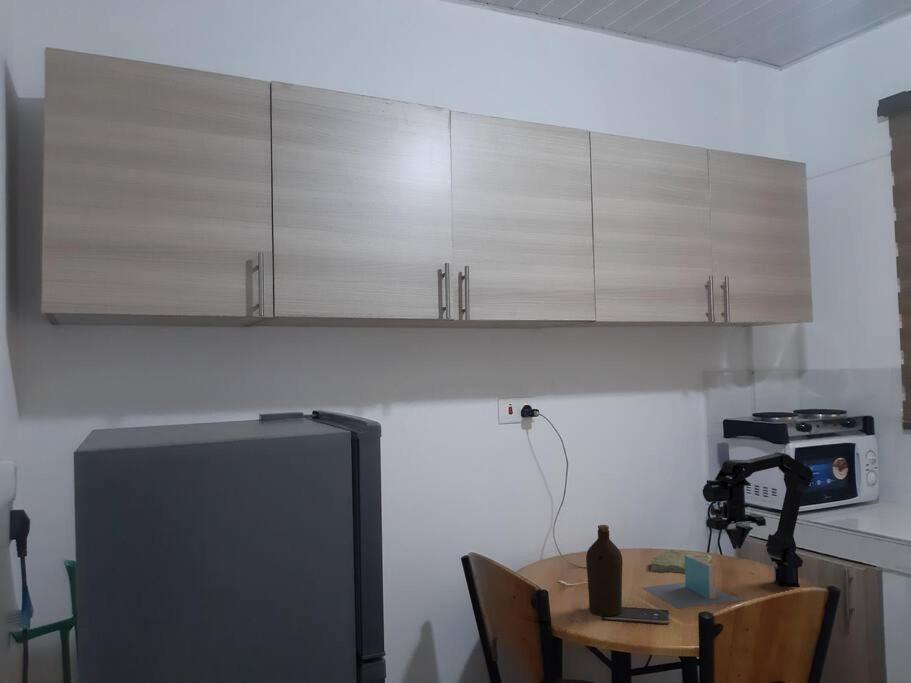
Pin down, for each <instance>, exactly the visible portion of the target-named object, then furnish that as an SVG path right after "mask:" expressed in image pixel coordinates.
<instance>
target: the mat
mask: <svg viewBox="0 0 911 683" xmlns="http://www.w3.org/2000/svg"><path fill="white" fill-rule="evenodd" d="M641 589H643V590H644V591H646V592H647V593H650V594H652V595H654V596H655V597H657V598H659V599H660V600H662V601H664V602H666V603H667V604H669V605H670V606H671V607H674V608H676V609H685V608H691V607H699V606H700V607H701V606H707V605H716V604H721V603H723V604H724V603H731V602H738V601H740V599H739V598H737V597H735V596H734V595H731V594H729V593H727V592H725V591H722V590H721V589H718V588H717V587H715V594H716V598H711V599H708V598H706V597H704V596H702V595H701V594H699V593H697V592H695V591H693V590H691V589H689V588H687V587H686V585H685V582H678V583H677V582H676V583H669V584H660V585H652V586H651V585H650V586H643V587H641Z"/></svg>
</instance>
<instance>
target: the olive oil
mask: <svg viewBox="0 0 911 683" xmlns="http://www.w3.org/2000/svg"><path fill="white" fill-rule="evenodd" d="M609 529H610V527H609V525H606V524H599V525H598V526H597V539H596V540H595V541H594V542H593V543H592V544H591V545H590V546H589V548H588V549H587V552H586V556H585V562H586V563H585V564H586V574H587V575H586V576H587V590H588V607H589V608H588V609H589V612H591V614H594V615H597V616H601V617H614V616H615V615H616V616H618V614H619V615H620V614H621V613H622V612H621V611H622V610H623V609H622V608H623V607H622V606H623V602H622V601H623V594H622V593H623V561H624V560H623V556H622V553H621V551H620V549H619V547H618V546H617V545H616V544H615V543H614V542H613V541H612V540H611V539H610V530H609ZM616 616H615V617H616Z"/></svg>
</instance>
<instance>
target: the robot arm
mask: <svg viewBox="0 0 911 683" xmlns="http://www.w3.org/2000/svg"><path fill="white" fill-rule="evenodd" d="M773 468H778V470H779V471H780V472H781V473H782V474H783V482H784V484H785V488H786V489H785V494H784V498H783V502H782V503H783V504H782V507H781V512H780V516H779V521H778V525H777V530H776V531H775V532H774V533H773V534H768V536H767V542H766V544H765V547H766V552H767V554H768V556H769V558H770V560H771V562H773V563H774V564H775V566H774V567H773V580H774V581H775V582H776V584H777V583H778V584H779V585H778V584H777V585H778V586H784V585H794V586H793V587H801V584H800V582H799V568H802V567H803V564H804V560H803V559H802V558H801V557H800V556H799V554H797V553H796V552H797V551H796V550H797V543H796V540H795V537H794V535H795V529H796V524H797V520H798V516H799V511H800V508H801V502H802V499H803V494H804V492H805V491H806V490H808V488H809V487H810V485H811V483H812V480H813V477H814V472H813V471H812V469H811V468H810V467H809V466H808V465H804V464H803V463H802V462H800V461H798V460H796V459H795V458H793V456H791V455H789V454H788V453H785V452H779V451H777V452H773V453H771V454H767V455H762V456H758V457H753V458H749V459H726V460H724V461H723V463H722V466H721V468H720V469H719V471H718V473H717V475H716V477H715V478H714V480H712V479H707V480H706V483H705V485H704V486H703V489H702V496H703V498H704V500H705V501H706V502H707V503H713V502H715V503H716V502H723V503H722V506H719V505H718V504H711V505H710V506H709V508H710V509H709V511H710V515H712V517H707V519H706V521H705V522H706V524H705V525H706V527H707V528H710V529H712V530H715V531H722V530H723V531H725V532H726V534H727V537H728V538H729V541H730V544H731V546H732V549H734V550H737V549H739V550H740V549H742V546H743V544H744V542H745V541H746V539H747V537H748V535H749V533H750V532H751V530H752V531H753V530H754V528H753V527H752V526H751V525H750V524H755V525H756V526H757V527H765V526H767V520H766V518H765V517H764V515H759V514H757V513H749V514H747V513H746V508H749V504H748V503H746V496H745V495H746V494H745V491H746V490H745V489H746V488H745V486H746V487H748V486H751V483H750V482H749V481H748V480H747V478H749V477H751V476H752V475H753V474H754V473H756V472H760V471H761V472H762V471H765V470H770V469H773ZM713 516H714V517H713Z"/></svg>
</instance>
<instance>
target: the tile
mask: <svg viewBox="0 0 911 683" xmlns="http://www.w3.org/2000/svg"><path fill="white" fill-rule="evenodd" d="M715 567H716V565H715V564H713V563H708V562H706V561H704V560H702V559H699V558H697V557H695V556H692V555H686V556H685V573H684V578H685V580H684V581H685V585H686V587H687V588H689V589H691V590H693V591H695V592H697V593H699V594H701V595H702V596H704V597H706V598H708V599H711V598H716V594H715V588H716V572H715V571H716V568H715Z"/></svg>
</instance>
